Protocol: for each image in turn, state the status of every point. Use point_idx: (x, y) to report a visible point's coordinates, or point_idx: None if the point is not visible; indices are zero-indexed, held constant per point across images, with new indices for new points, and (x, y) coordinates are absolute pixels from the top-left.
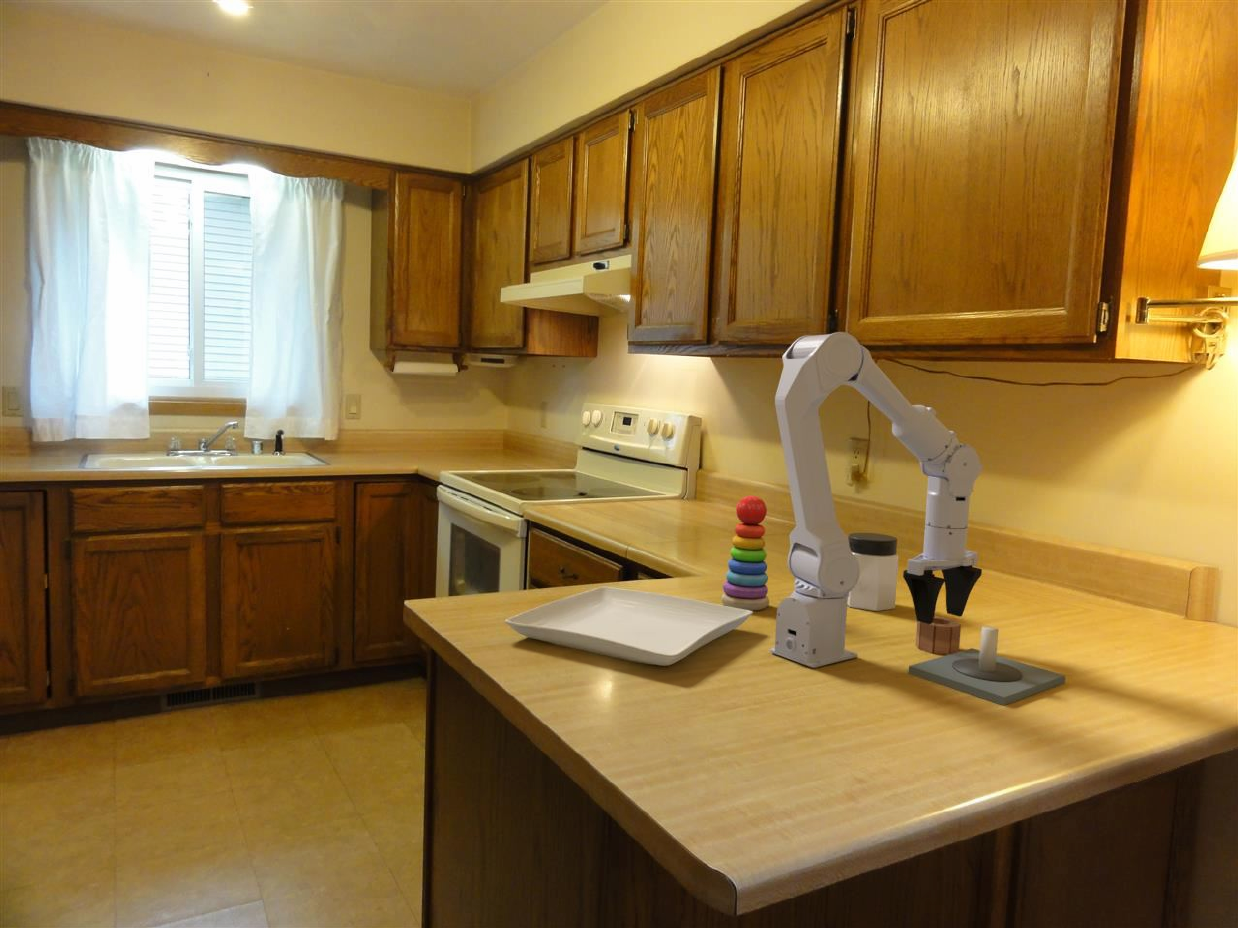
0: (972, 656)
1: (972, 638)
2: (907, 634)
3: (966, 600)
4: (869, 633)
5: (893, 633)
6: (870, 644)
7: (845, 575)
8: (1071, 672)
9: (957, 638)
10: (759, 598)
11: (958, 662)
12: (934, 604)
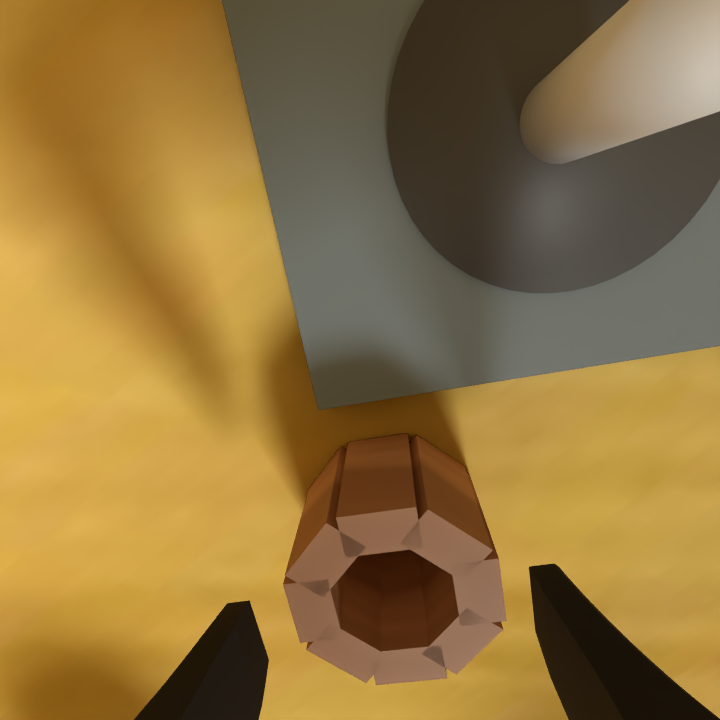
0: (423, 320)
1: (138, 545)
2: None
3: (176, 682)
4: (494, 706)
5: None
6: None
7: None
8: (39, 35)
9: (362, 473)
10: None
11: (604, 258)
12: (618, 660)
